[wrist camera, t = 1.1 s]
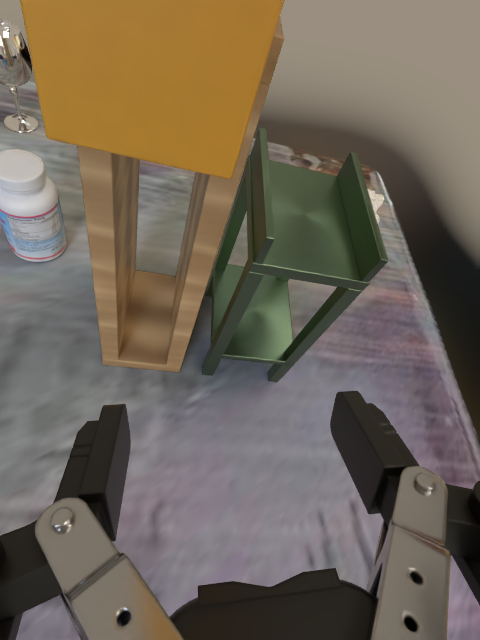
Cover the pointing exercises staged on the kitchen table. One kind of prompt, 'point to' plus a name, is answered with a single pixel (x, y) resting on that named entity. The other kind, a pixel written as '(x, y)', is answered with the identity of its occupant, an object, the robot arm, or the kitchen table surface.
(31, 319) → the kitchen table surface
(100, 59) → the book
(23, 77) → the wineglass
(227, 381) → the kitchen table surface
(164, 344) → the tall stand
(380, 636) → the robot arm
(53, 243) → the pill bottle
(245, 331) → the book rack
